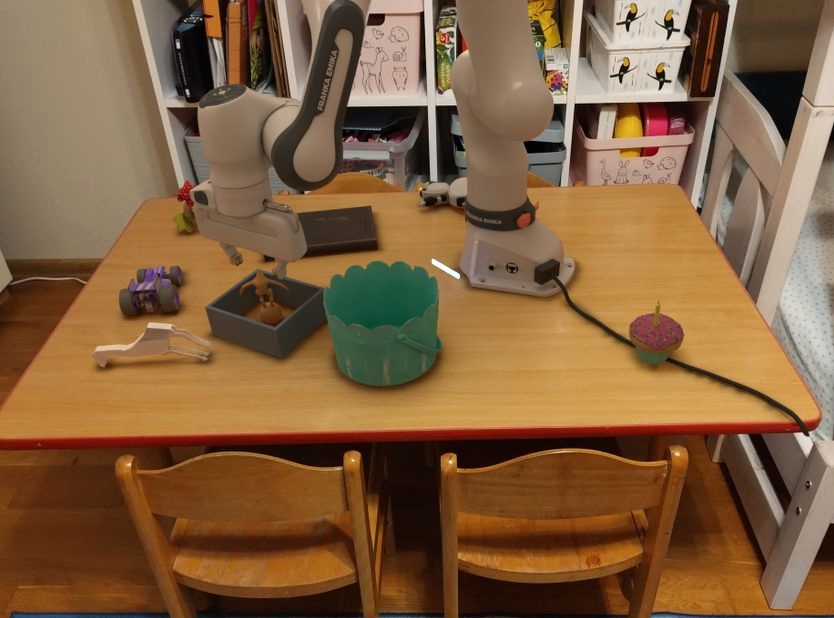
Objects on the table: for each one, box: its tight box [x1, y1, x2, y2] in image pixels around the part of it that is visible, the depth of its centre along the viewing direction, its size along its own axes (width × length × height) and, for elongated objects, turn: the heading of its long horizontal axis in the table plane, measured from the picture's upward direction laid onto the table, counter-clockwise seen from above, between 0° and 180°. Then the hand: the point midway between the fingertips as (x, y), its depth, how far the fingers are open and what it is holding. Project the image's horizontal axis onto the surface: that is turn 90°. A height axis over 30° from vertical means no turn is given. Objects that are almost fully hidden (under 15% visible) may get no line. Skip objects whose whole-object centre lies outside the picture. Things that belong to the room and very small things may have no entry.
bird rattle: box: [173, 179, 197, 234], centre depth 155 cm, size 6×11×9 cm
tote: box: [204, 268, 327, 360], centre depth 126 cm, size 15×14×6 cm
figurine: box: [240, 269, 289, 325], centre depth 124 cm, size 8×6×12 cm
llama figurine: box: [91, 322, 213, 368], centre depth 119 cm, size 2×11×18 cm
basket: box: [323, 260, 443, 387], centre depth 116 cm, size 19×18×13 cm
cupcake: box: [628, 300, 685, 366], centre depth 113 cm, size 9×8×12 cm
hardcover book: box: [263, 205, 379, 262], centre depth 152 cm, size 16×23×2 cm
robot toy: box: [416, 176, 467, 210], centre depth 162 cm, size 12×4×15 cm
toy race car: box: [118, 265, 183, 316], centre depth 135 cm, size 10×15×6 cm, turn 6°
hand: (258, 270), depth 121 cm, fingers open, 8 cm apart
